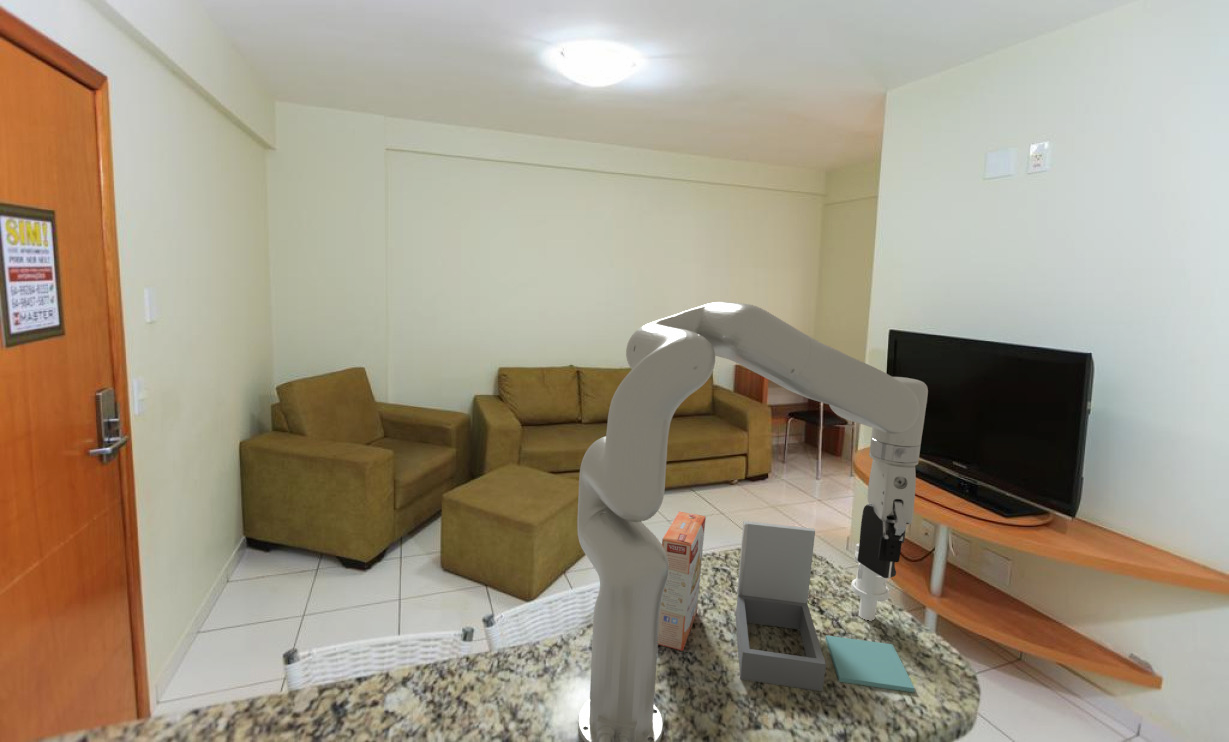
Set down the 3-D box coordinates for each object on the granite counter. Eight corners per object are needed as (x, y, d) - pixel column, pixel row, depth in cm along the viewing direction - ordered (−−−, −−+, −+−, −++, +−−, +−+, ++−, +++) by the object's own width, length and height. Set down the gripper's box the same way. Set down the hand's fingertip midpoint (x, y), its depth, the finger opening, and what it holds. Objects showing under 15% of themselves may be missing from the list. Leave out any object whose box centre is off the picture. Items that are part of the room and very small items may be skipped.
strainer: (849, 603, 123) (857, 537, 120) (885, 613, 119) (894, 545, 117) (846, 620, 116) (855, 550, 114) (885, 630, 113) (894, 559, 111)
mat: (914, 692, 96) (914, 688, 96) (839, 681, 98) (839, 677, 98) (892, 648, 108) (892, 644, 108) (825, 639, 110) (825, 635, 110)
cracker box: (685, 653, 104) (693, 544, 100) (653, 645, 105) (659, 537, 102) (699, 612, 117) (707, 514, 113) (670, 605, 119) (677, 509, 115)
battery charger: (903, 577, 98) (911, 514, 96) (885, 580, 96) (894, 516, 94) (871, 558, 104) (879, 498, 102) (855, 561, 103) (862, 500, 101)
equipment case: (822, 691, 95) (835, 579, 92) (740, 679, 97) (750, 569, 94) (803, 623, 114) (814, 528, 111) (735, 614, 117) (743, 520, 113)
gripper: (938, 469, 88) (922, 577, 90) (901, 439, 105) (889, 531, 107) (886, 464, 89) (872, 571, 91) (857, 435, 106) (846, 526, 108)
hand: (881, 549), depth 99 cm, fingers closed on battery charger, 7 cm apart
